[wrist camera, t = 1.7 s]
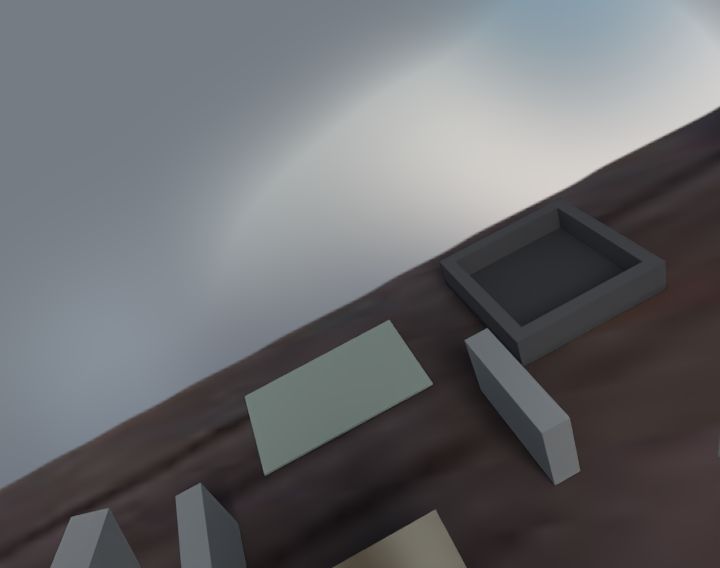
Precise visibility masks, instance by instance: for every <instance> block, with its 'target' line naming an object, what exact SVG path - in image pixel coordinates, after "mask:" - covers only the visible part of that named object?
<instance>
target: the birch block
mask: <svg viewBox="0 0 720 568" xmlns="http://www.w3.org/2000/svg"><path fill="white" fill-rule="evenodd" d="M333 568H467V567H466V566H465V564H464V562H463V560H462V558H461V556H460V554H459V553H458V551H457V549H456V547H455V545H454V543H453V541H452V539H451V538H450V536H449V534H448V532H447V530H446V528H445V526H444V525H443V523H442V521H441V519H440V517H439V515H438V513H437V511H436V510H434V511H432V512H430V513H428V514H427V515H425V516H423V517H421V518H420V519H418V520H416V521H414V522H413V523H411V524H409V525H407V526H405V527H404V528H402V529H400V530H398V531H397V532H395V533H393V534H391V535H389V536H388V537H386V538H384V539H382V540H381V541H379V542H377V543H375V544H373V545H372V546H370V547H368V548H366V549H365V550H363V551H361V552H359V553H358V554H356V555H354V556H352V557H350V558H349V559H347V560H345V561H343V562H342V563H340V564H338V565H336V566H334V567H333Z"/></svg>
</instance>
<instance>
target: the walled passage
mask: <svg viewBox="0 0 720 568" xmlns="http://www.w3.org/2000/svg"><path fill="white" fill-rule="evenodd" d="M464 341H465V344H466V347H467V350H468V353H469V356H470V359H471V362H472V365H473V368H474V371H475V374H476V377H477V380H478V383H479V386H480V389H481V391H482V392H483V394H484V395H485V396H486V397H487V399H488V400H489V401H490V403H491V404H492V405H493V406H494V408H495V409H496V410H497V412H498V413H499V414H500V415H501V417H502V418H503V419H504V421H505V422H506V423H507V424H508V426H509V427H510V428H511V430H512V431H513V432H514V433H515V435H516V436H517V437H518V439H519V440H520V441H521V442H522V444H523V445H524V446H525V448H526V449H527V450H528V451H529V453H530V454H531V455H532V457H533V458H534V459H535V460H536V462H537V463H538V464H539V466H540V467H541V468H542V469H543V471H544V472H545V473H546V475H547V476H548V477H549V478H550V480H551V481H552V482H553V484H554V485H557V484H559V483H560V482H562V481H564V480H566V479H567V478H569V477H571V476H573V475H574V474H576V473H578V472H580V467H579V462H578V457H577V452H576V447H575V442H574V437H573V432H572V427H571V421H570V417H569V416H568V415H567V414H566V413H565V412H564V411H563V410H562V409H561V408H560V407H559V406H558V404H557V403H556V402H555V401H554V400H553V399H552V398H551V397H550V396H549V395H548V394H547V392H546V391H545V390H544V389H543V388H542V387H541V386H540V385H539V384H538V383H537V382H536V380H535V379H534V378H533V377H532V376H531V375H530V374H529V373H528V372H527V371H526V370H525V368H524V367H523V366H522V365H521V364H520V363H519V362H518V361H517V360H516V359H515V358H514V357H513V355H512V354H511V353H510V352H509V351H508V350H507V349H506V348H505V347H504V346H503V345H502V343H501V342H500V341H499V340H498V339H497V338H496V337H495V336H494V335H493V334H492V333H491V331H490V330H489V329H488V328H486V329H485V330H483V331H481V332H479V333H477V334H475V335H474V336H472V337H470V338H468V339H466V340H464ZM176 508H177V521H178V533H179V545H180V557H181V568H247V566H246V561H245V555H244V550H243V545H242V539H241V534H240V529H239V523H238V522H237V521H236V520H235V519H234V518H233V517H232V516H231V515H230V514H229V513H228V512H227V511H226V510H225V508H224V507H223V506H222V505H221V504H220V503H219V502H218V501H217V500H216V499H215V498H214V497H213V496H212V494H211V493H210V492H209V491H208V490H207V489H206V488H205V487H204V486H203V485H202V484H201V483H199V484H197V485H195V486H194V487H192V488H190V489H188V490H186V491H184V492H182V493H181V494H179V495H177V496H176Z"/></svg>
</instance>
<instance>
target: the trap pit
mask: <svg viewBox="0 0 720 568" xmlns="http://www.w3.org/2000/svg"><path fill="white" fill-rule="evenodd" d="M439 262H440V265H441V268H442V271H443V274H444V277H445V280H446V283H447V285H448V286H449V287H450V288H451V289H452V290H453V291H454V292H455V294H456V295H457V296H458V297H459V298H460V299H461V300H462V301H463V302H464V303H465V304H466V305H467V307H468V308H469V309H470V310H471V311H472V312H473V313H474V314H475V315H476V316H477V317H478V319H479V320H480V321H481V322H482V323H483V324H484V325H485V326H486V327H487V328H488V329H489V330H490V331H491V333H492V334H493V335H494V336H495V337H496V338H497V339H498V340H499V341H500V342H501V343H502V345H503V346H504V347H505V348H506V349H507V350H508V351H509V352H510V353H511V354H512V355H513V357H514V358H515V359H516V360H517V361H518V362H519V363H520V364H521V365H522V366H523V367H525V366H527V365H528V364H530V363H532V362H534V361H536V360H538V359H539V358H541V357H543V356H545V355H547V354H548V353H550V352H552V351H554V350H556V349H558V348H559V347H561V346H563V345H565V344H567V343H569V342H570V341H572V340H574V339H576V338H578V337H579V336H581V335H583V334H585V333H587V332H589V331H590V330H592V329H594V328H596V327H598V326H600V325H601V324H603V323H605V322H607V321H609V320H610V319H612V318H614V317H616V316H618V315H620V314H621V313H623V312H625V311H627V310H629V309H631V308H632V307H634V306H636V305H638V304H640V303H641V302H643V301H645V300H647V299H649V298H651V297H652V296H654V295H656V294H658V293H660V292H661V291H663V290H665V289H667V284H666V261H664V260H663V259H661V258H659V257H658V256H656V255H654V254H653V253H651V252H649V251H648V250H646V249H644V248H643V247H641V246H639V245H638V244H636V243H634V242H633V241H631V240H629V239H628V238H626V237H624V236H623V235H621V234H619V233H618V232H616V231H614V230H613V229H611V228H609V227H608V226H606V225H604V224H603V223H601V222H599V221H598V220H596V219H595V218H593V217H591V216H590V215H588V214H586V213H585V212H583V211H581V210H580V209H578V208H576V207H575V206H573V205H571V204H570V203H568V202H566V201H565V200H563V199H561V198H559V199H557V200H555V201H553V202H552V203H550V204H548V205H546V206H544V207H542V208H540V209H538V210H536V211H534V212H532V213H531V214H529V215H527V216H525V217H523V218H521V219H519V220H517V221H515V222H513V223H512V224H510V225H508V226H506V227H504V228H502V229H500V230H498V231H496V232H494V233H492V234H491V235H489V236H487V237H485V238H483V239H481V240H479V241H477V242H475V243H473V244H471V245H470V246H468V247H466V248H464V249H462V250H460V251H458V252H456V253H454V254H452V255H451V256H449V257H447V258H445V259H443V260H441V261H439Z"/></svg>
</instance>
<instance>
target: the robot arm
mask: <svg viewBox="0 0 720 568" xmlns="http://www.w3.org/2000/svg"><path fill="white" fill-rule="evenodd" d="M718 456H719V457H720V441H719V449H718ZM51 568H141V566H140V564H139V562H138V561H137V559H136V557H135V555H134V553H133V551H132V550H131V548H130V546H129V544H128V542H127V540H126V538H125V537H124V535H123V533H122V531H121V529H120V527H119V526H118V524H117V522H116V520H115V518H114V516H113V514H112V513H111V511H110V509H109V508H106V509H102V510H98V511H94V512H90V513H86V514H82V515H78V516H73V517H71V519H70V521H69V523H68V526H67V528H66V531H65V533H64V536H63V538H62V541H61V543H60V545H59V548H58V550H57V553H56V555H55V558H54V560H53V563H52V565H51Z"/></svg>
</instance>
